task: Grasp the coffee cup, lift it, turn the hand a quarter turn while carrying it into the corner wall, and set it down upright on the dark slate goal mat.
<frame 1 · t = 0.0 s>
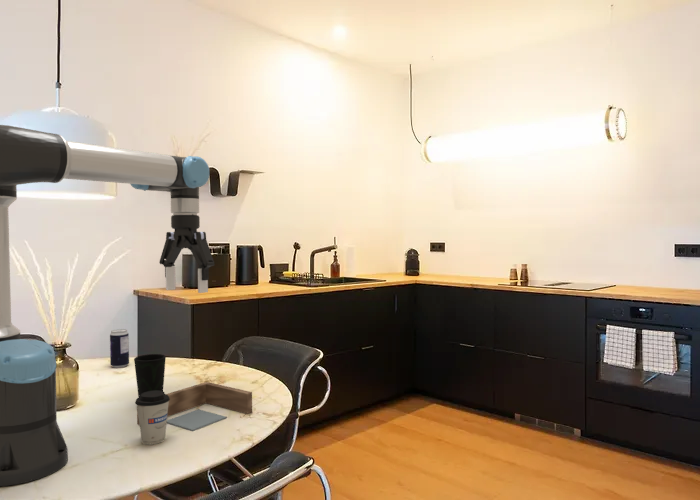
hand: (186, 291, 147), 28 cm above the table, fingers open, 13 cm apart
beverage can: (119, 366, 176), on the table
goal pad: (195, 420, 125), on the table
coffee cup: (153, 441, 113), on the table
cup: (150, 403, 138), on the table
corner wall: (196, 418, 126), on the table
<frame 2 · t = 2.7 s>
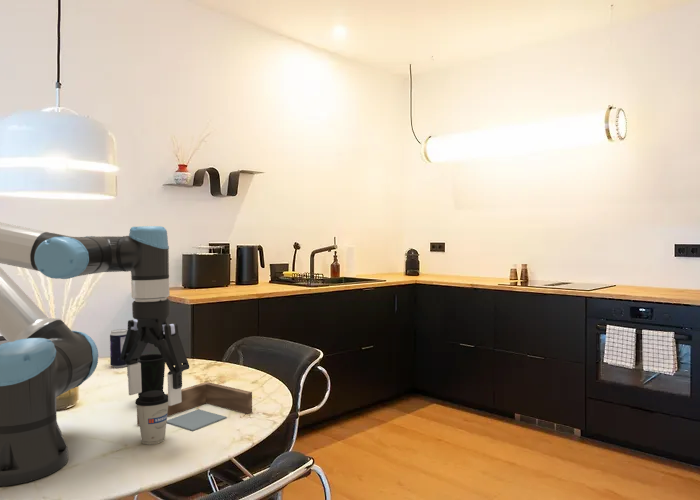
hand: (154, 398, 113), 9 cm above the table, fingers open, 13 cm apart
nothing on the table moved.
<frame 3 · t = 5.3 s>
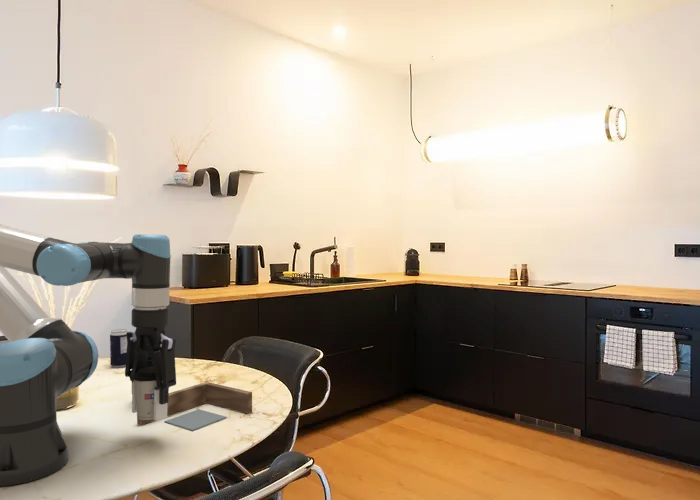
hand: (149, 414, 113), 6 cm above the table, fingers closed on coffee cup, 7 cm apart
coffee cup: (149, 417, 113), point 5 cm above the table, touching gripper
everything else where it was.
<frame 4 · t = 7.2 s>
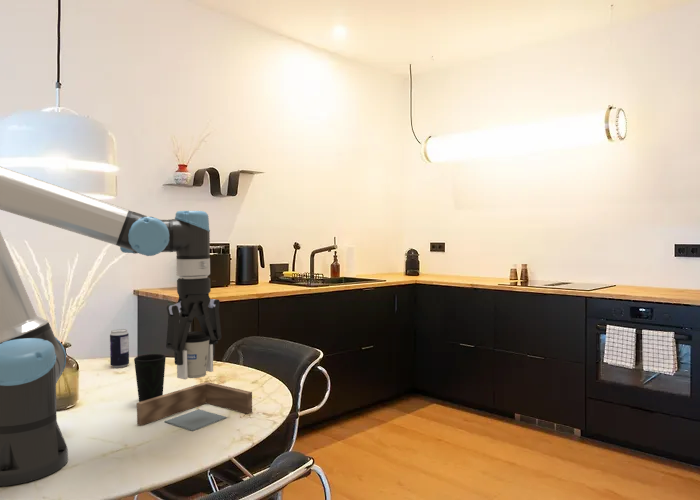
hand: (195, 374, 124), 11 cm above the table, fingers closed on coffee cup, 7 cm apart
coffee cup: (195, 376, 124), point 10 cm above the table, touching gripper
everything else where it was.
when the fingers open (2 cm above the table, at t = 9.5 s): coffee cup drops 1 cm, resting on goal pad.
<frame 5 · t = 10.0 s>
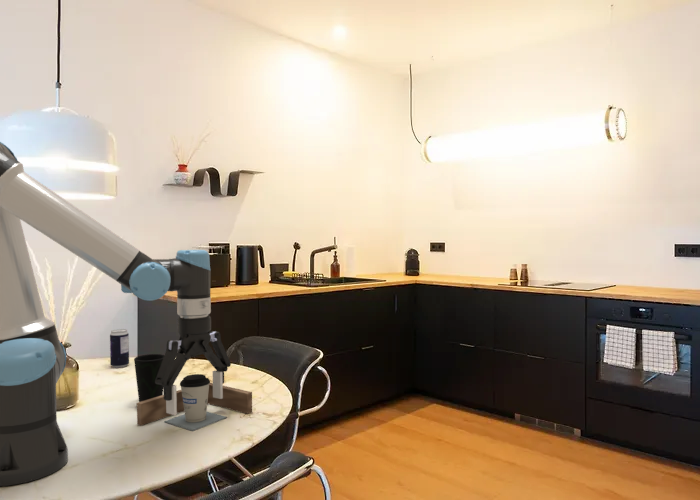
hand: (195, 405, 125), 3 cm above the table, fingers open, 13 cm apart
coffee cup: (195, 419, 125), resting on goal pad
everything else where it was.
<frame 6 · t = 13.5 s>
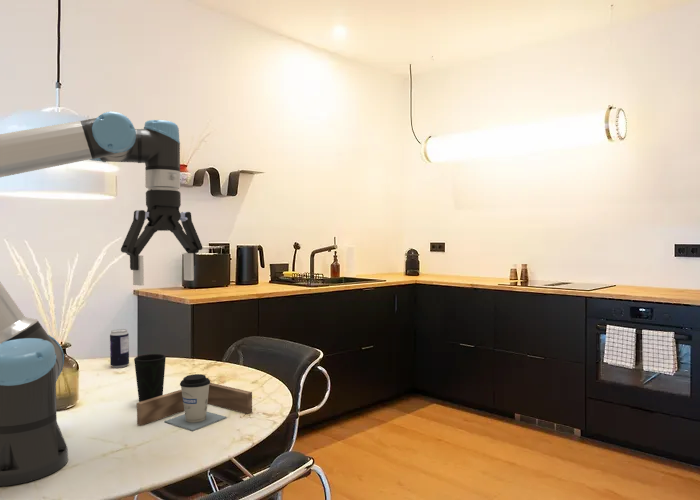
hand: (164, 282, 122), 33 cm above the table, fingers open, 13 cm apart
nothing on the table moved.
at the end: coffee cup inside the target area on the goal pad (0.0 cm from its centre), point 0.1 cm above the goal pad's base; coffee cup tilted 0°; the gripper is holding nothing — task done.
